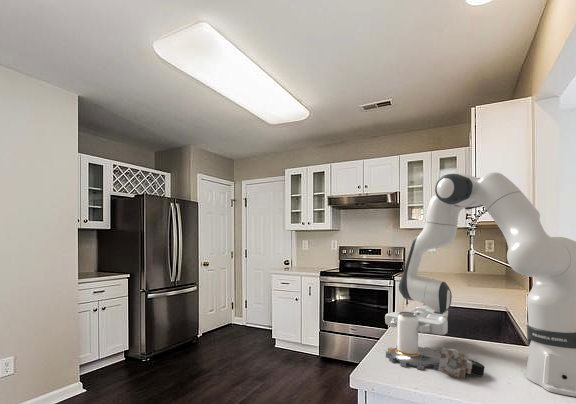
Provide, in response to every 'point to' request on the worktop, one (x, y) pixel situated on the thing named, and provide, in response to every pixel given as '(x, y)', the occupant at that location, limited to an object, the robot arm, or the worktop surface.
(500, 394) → the worktop surface
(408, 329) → the can
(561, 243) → the robot arm
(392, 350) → the sprocket plate
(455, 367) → the caster wheel
